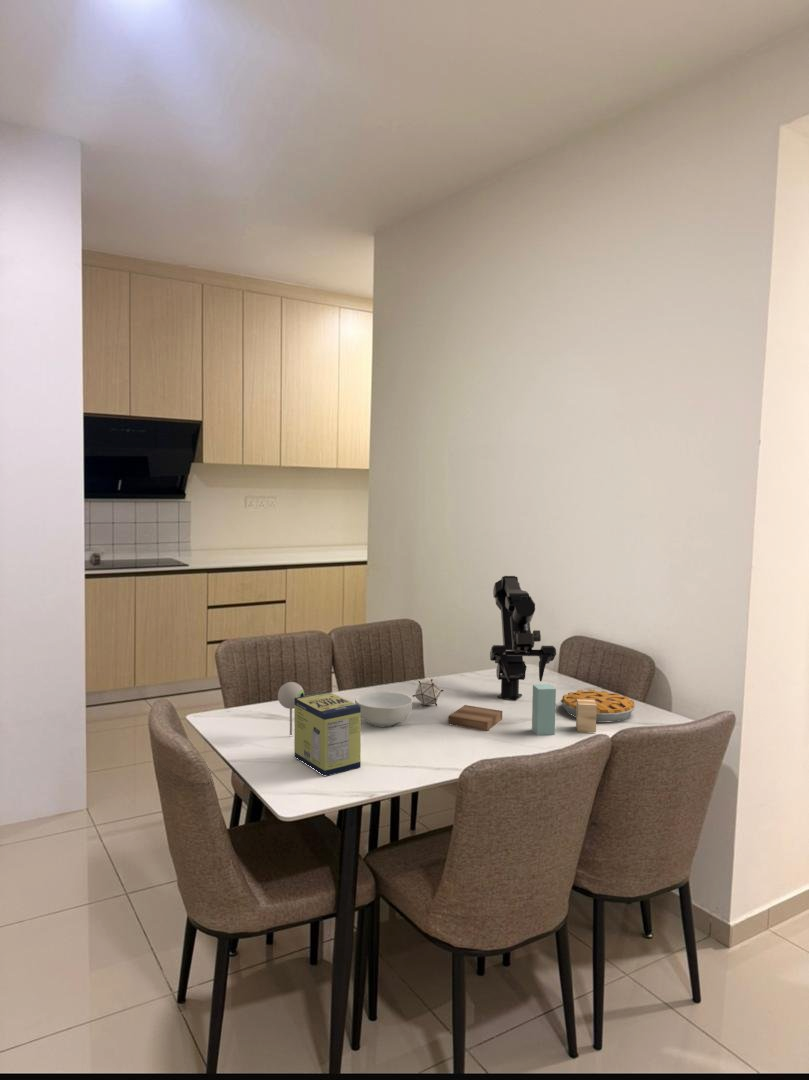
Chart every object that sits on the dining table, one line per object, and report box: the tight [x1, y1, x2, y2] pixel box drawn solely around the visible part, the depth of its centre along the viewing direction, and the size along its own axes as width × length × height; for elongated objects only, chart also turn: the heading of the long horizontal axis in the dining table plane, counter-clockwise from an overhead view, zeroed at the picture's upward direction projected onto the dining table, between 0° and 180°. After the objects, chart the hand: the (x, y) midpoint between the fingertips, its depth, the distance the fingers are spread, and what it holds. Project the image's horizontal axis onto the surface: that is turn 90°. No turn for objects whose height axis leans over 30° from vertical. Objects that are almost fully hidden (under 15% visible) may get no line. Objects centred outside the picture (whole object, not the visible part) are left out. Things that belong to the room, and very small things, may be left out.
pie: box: [560, 689, 636, 722], centre depth 231 cm, size 22×22×5 cm
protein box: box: [293, 691, 362, 776], centre depth 187 cm, size 10×16×16 cm
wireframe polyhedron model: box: [412, 678, 444, 709], centre depth 235 cm, size 9×8×10 cm
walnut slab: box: [447, 704, 503, 732], centre depth 221 cm, size 12×12×3 cm
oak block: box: [575, 699, 597, 733], centre depth 214 cm, size 5×5×8 cm
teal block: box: [531, 683, 557, 736], centre depth 212 cm, size 5×5×13 cm
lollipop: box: [277, 681, 305, 736], centre depth 205 cm, size 7×7×15 cm
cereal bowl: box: [354, 691, 413, 727], centre depth 219 cm, size 17×17×7 cm
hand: (525, 680), depth 218 cm, fingers open, 9 cm apart
